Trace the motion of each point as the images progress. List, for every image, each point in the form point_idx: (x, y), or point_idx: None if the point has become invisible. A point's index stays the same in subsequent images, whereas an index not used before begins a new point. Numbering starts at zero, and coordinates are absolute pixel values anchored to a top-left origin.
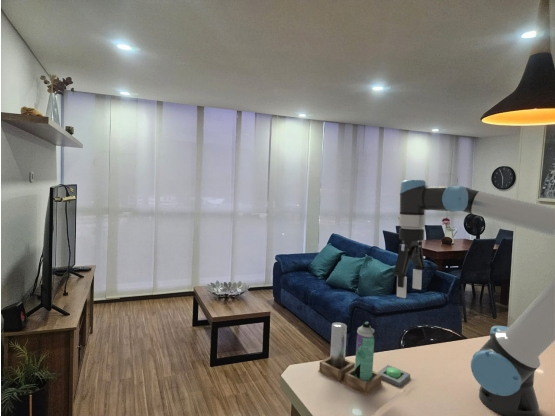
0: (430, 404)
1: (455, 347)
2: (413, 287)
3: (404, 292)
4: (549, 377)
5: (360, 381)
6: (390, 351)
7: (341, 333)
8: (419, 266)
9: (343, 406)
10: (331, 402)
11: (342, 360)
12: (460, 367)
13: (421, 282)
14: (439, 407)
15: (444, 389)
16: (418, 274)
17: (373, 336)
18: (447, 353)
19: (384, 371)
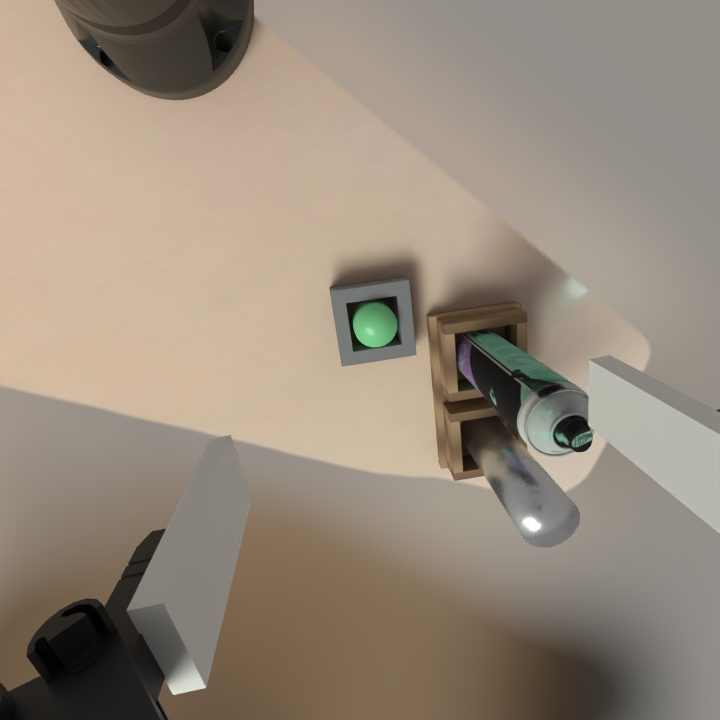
0: (393, 177)
1: None
2: (247, 495)
3: (646, 381)
4: None
5: (526, 338)
6: (216, 433)
7: (556, 486)
8: (149, 692)
9: (586, 316)
10: (593, 344)
11: (501, 430)
12: (75, 233)
13: (192, 480)
14: (385, 150)
15: (275, 193)
16: (196, 572)
17: (555, 381)
18: (20, 318)
19: (388, 346)
